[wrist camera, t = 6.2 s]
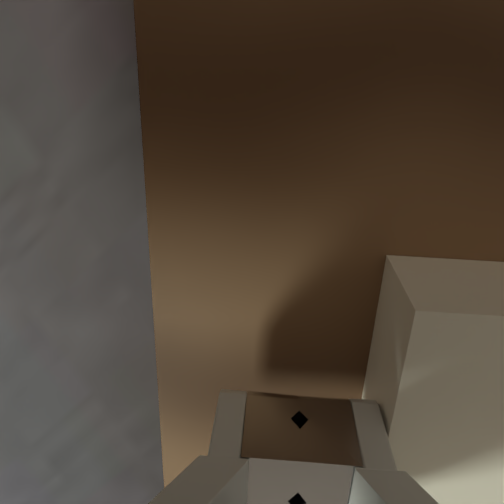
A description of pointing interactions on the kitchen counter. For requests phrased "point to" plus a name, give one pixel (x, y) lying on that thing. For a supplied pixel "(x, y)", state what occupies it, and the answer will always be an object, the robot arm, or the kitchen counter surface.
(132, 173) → the kitchen counter surface
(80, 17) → the kitchen counter surface
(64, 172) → the kitchen counter surface
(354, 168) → the board
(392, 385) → the cream rectangular block
